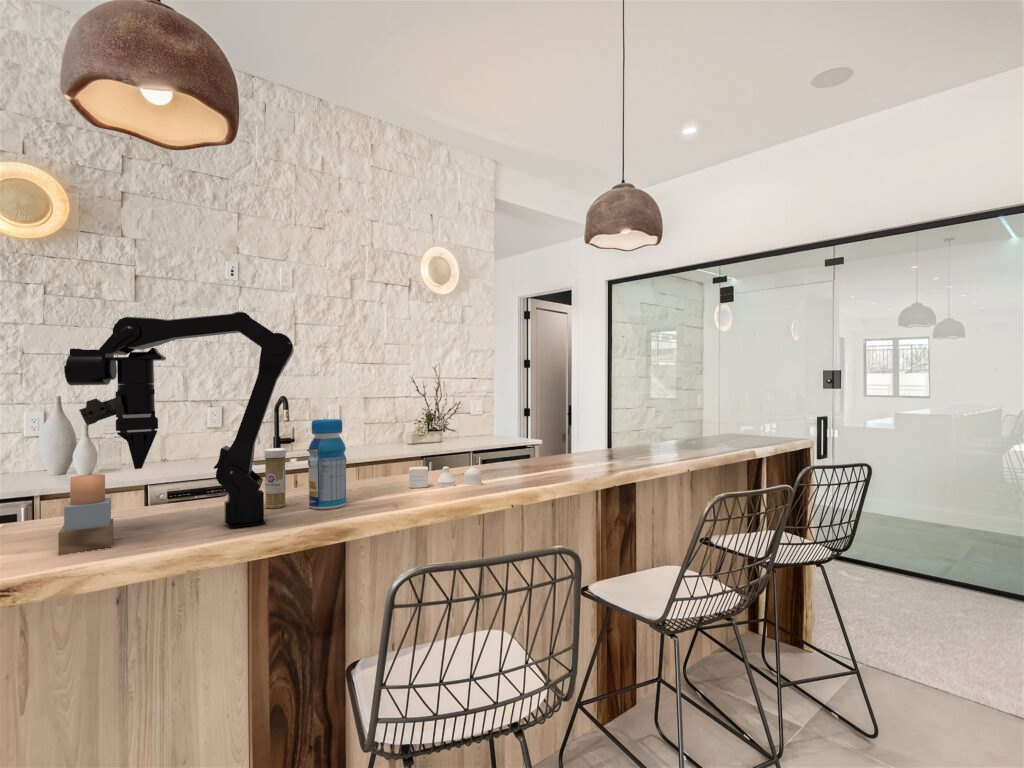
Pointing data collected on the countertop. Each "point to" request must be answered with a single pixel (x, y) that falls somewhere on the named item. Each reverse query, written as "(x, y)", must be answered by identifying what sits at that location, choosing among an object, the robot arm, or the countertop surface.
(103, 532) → the tower base
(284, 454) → the sprinkles bottle
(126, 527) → the countertop surface
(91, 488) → the tan cylinder
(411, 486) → the container set
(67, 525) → the tower top
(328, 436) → the beverage bottle
